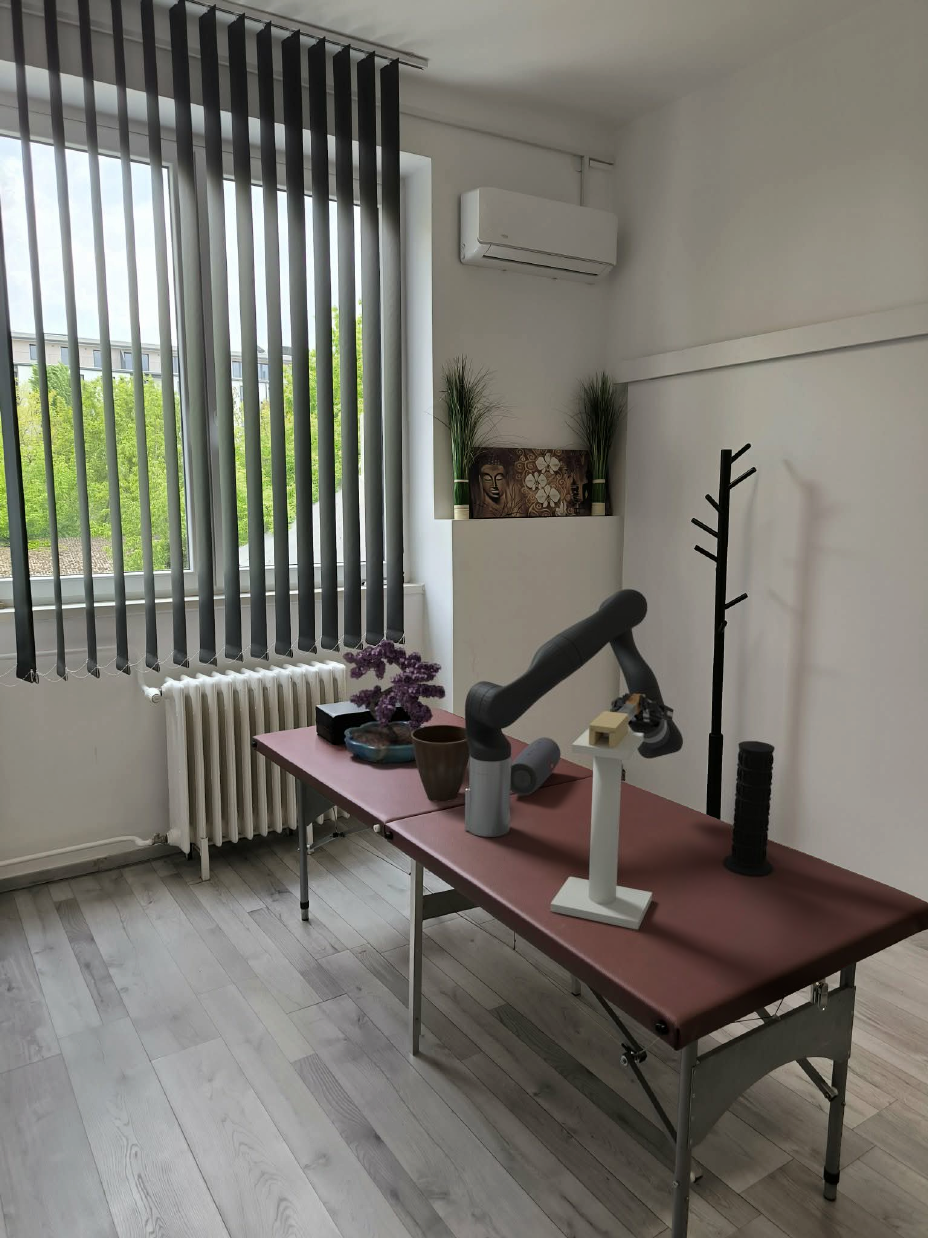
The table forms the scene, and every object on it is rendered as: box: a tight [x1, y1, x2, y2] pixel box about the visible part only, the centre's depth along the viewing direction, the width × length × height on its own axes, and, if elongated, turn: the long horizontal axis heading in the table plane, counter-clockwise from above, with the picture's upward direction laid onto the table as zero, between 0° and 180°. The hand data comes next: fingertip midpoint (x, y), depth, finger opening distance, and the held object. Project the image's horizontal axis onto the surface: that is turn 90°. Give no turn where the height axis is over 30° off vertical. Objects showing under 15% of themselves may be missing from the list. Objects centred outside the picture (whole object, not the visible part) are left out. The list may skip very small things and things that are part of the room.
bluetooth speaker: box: [510, 737, 562, 796], centre depth 226 cm, size 23×9×10 cm, turn 160°
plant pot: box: [411, 724, 469, 802], centre depth 218 cm, size 15×15×16 cm
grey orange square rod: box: [603, 694, 645, 737], centre depth 171 cm, size 2×25×2 cm, turn 157°
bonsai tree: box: [342, 638, 446, 764], centre depth 247 cm, size 35×27×33 cm
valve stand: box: [550, 710, 653, 931], centre depth 162 cm, size 16×12×36 cm
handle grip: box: [722, 740, 776, 878], centre depth 180 cm, size 10×26×10 cm
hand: (633, 698), depth 177 cm, fingers closed on grey orange square rod, 2 cm apart
